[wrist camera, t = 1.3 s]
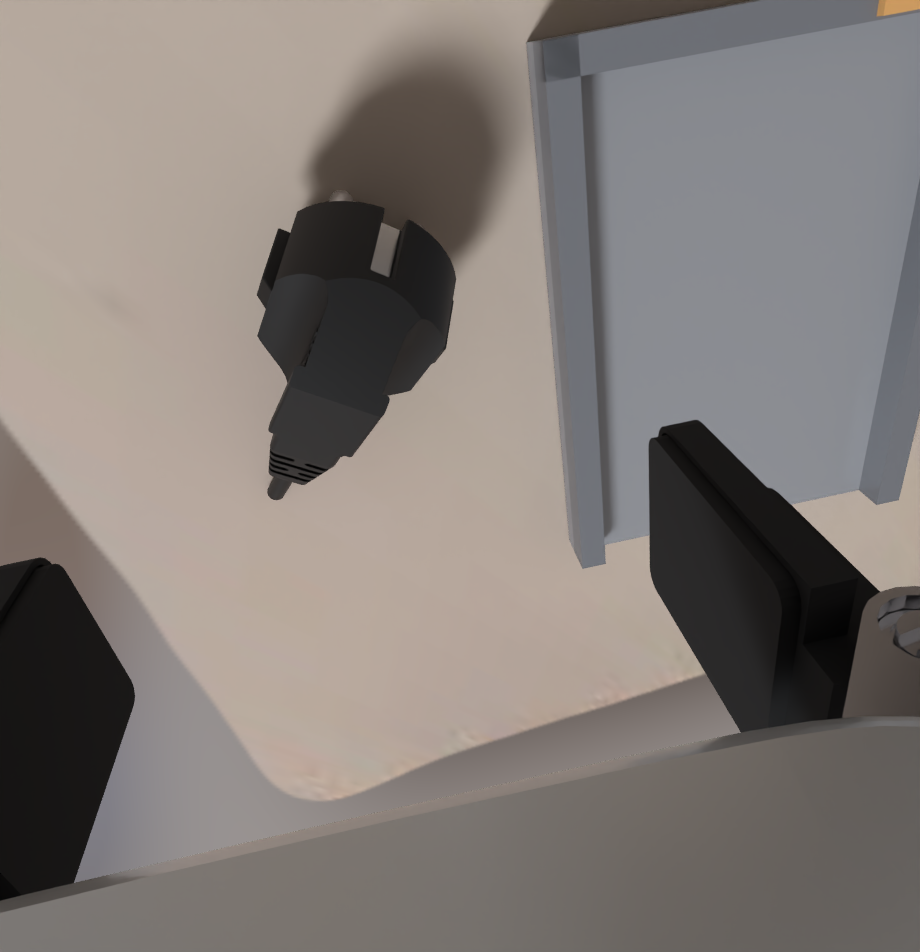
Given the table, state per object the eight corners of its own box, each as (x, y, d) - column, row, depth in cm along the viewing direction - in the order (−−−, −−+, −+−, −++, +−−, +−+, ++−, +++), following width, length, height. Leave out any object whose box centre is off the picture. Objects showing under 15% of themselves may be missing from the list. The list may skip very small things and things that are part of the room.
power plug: (196, 490, 26) (248, 313, 16) (248, 330, 29) (318, 100, 19) (340, 530, 28) (468, 394, 17) (373, 375, 31) (497, 187, 21)
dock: (526, 42, 20) (545, 40, 18) (973, -41, 21) (1037, -51, 19) (569, 540, 30) (584, 573, 29) (868, 476, 31) (903, 503, 29)
